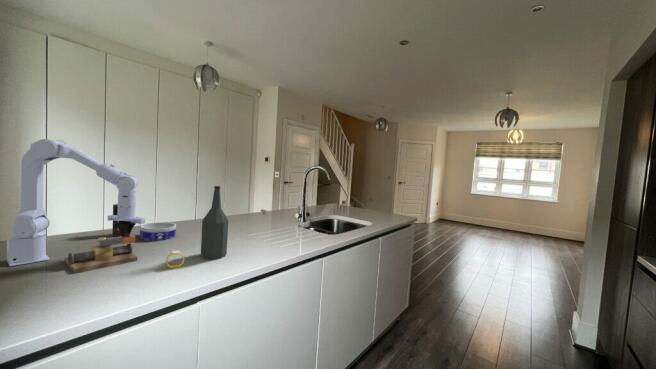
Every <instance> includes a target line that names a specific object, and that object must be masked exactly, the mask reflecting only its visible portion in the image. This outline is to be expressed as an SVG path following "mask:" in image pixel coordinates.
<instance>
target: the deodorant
mask: <svg viewBox="0 0 656 369" xmlns="http://www.w3.org/2000/svg"><path fill="white" fill-rule="evenodd" d="M117 213H118V203H115V204H112V215H117ZM116 223H119V221H113V220H112V237H114V238H120V237H122V236H121V233H120V231H119V229H118V227H117V226H116Z"/></svg>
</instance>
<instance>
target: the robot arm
mask: <svg viewBox="0 0 656 369" xmlns="http://www.w3.org/2000/svg"><path fill="white" fill-rule="evenodd" d="M61 158H63V159H72V160H74V161H76V162H78V163H79V164H82V165H84V166H86V167H88V168H90V169H92V170H93V171H95V173H96V175H97V177H99V178H100V179H103V180H105V181H106V182H107V183H108V182H109V183H111V185H114V186H116V188H117V189H118V195H117V204H118V213H117V215H113V214H110V215H107V221H110V222H111V221H112V222H113V221H119V223H116V226H117V227H118V229H119V231H120V233H121V236H120V237H124V236H131V233H132V231H133V229H134V227H135V225H136V224H138V225H143V224H146V221H145V220H146V219H145V218H142V217H139V216H136V203H137V188H136V187H137V186H138V184H139V183H138V182H139V181H138V179H137V178H136V177H135V176H134V175H132V174H129V173H128V172H126V171H125V172H124V171H122V170H120V169H119V168H117V167H116V165H115V164H113V163H111V164H110V163H101V162H99V161H98V160H96V159H95V158H93V157H92V156H90V155H88V154H87V153H85V152H84V151H82V150H80V149H79V148H77V147H75V146H74V145H72V144H67V143H66V142H65V141H63V140H59V139H58V140H57V139H56V140H54V139H53V140H52V139H48V138H42V139H39V140H37V141H34V142H33V143H31V144H30V147H29V149H28V150H27V151H26V153H25V154H24V155H23V156H22V157H21V160H20V161H21V164H20V165H21V166H20V168H21V169H20V172H21V176H20V185H21V186H20V210H19V211H18V213H17V214H16V215H15V220H14V222H13V224H12V226H11V232H12V234H13V235H14V236H15V237H10V238H7V240H6V255H5V260H6V262H7V264H8V266H9V267H13V266H20V265H26V264H32V263H38V262H44V261H49V260H50V257H49V256H48V255H47V232H46V230H47V229H48V228H49V227H50V223H51V221H50V218H48V215H47V211H46V210H45V209H44V166H45V165H47V164H48V163H50V162H51V161H54V160H57V159H61ZM128 174H129V175H128Z"/></svg>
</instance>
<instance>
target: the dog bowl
mask: <svg viewBox="0 0 656 369" xmlns="http://www.w3.org/2000/svg"><path fill="white" fill-rule="evenodd" d="M139 228H140V229H139V238H140V240H142V241H146V242H147V241H148V242H159V241H160V242H161V240H162V241H166V240H167V239H168V240H172V239H173V238H175V237H176V232H177V224H176V223H174V222H169V221H156V222H154V221H153V222H145V223H144V224H140V226H139ZM171 238H172V239H171Z"/></svg>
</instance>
